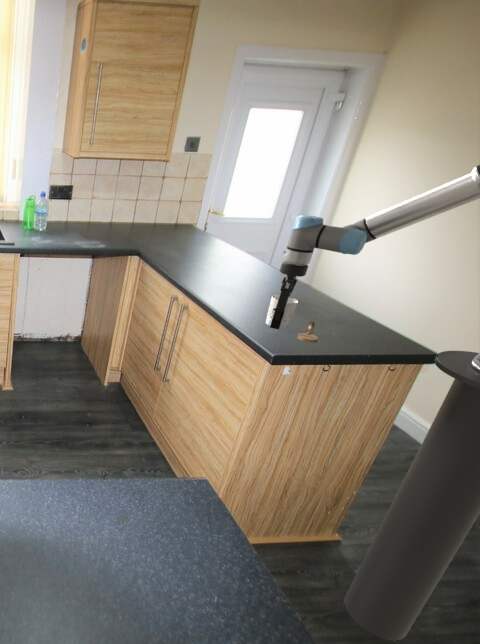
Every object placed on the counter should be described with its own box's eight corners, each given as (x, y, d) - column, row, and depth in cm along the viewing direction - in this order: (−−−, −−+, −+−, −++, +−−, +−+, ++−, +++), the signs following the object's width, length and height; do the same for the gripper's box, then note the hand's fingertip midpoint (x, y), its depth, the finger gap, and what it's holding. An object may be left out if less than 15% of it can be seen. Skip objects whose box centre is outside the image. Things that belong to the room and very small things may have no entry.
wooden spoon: (302, 323, 172) (303, 319, 171) (320, 327, 169) (322, 323, 168) (296, 339, 158) (297, 335, 157) (316, 344, 154) (318, 340, 154)
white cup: (284, 321, 170) (293, 296, 166) (292, 331, 163) (301, 304, 159) (260, 318, 172) (269, 293, 168) (267, 327, 165) (275, 301, 161)
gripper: (286, 255, 168) (268, 314, 177) (278, 266, 153) (259, 330, 162) (311, 259, 164) (291, 319, 173) (306, 271, 149) (284, 336, 158)
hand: (275, 324), depth 168 cm, fingers closed on white cup, 8 cm apart
